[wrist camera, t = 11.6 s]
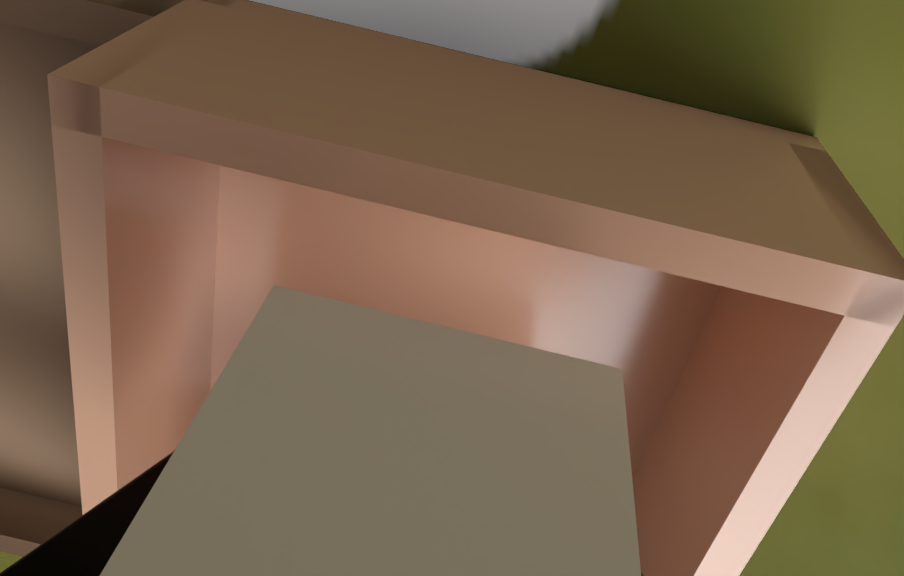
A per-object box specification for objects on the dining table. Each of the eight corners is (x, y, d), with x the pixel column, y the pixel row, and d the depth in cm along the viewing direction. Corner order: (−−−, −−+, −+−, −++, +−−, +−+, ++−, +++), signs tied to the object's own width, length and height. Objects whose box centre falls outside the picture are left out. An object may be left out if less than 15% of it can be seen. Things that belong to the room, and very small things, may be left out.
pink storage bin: (593, 596, 19) (600, 795, 15) (189, 499, 19) (95, 675, 15) (816, 136, 13) (922, 285, 9) (204, -11, 13) (46, 74, 9)
